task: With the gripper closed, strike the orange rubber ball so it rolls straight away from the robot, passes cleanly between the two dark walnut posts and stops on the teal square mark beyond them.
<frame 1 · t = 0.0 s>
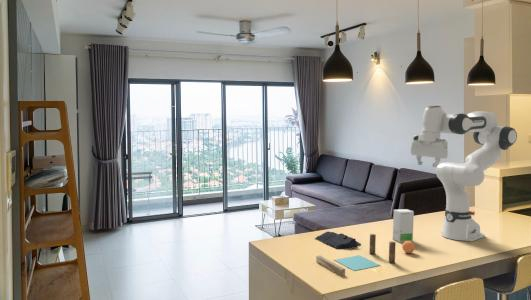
hand: (427, 166, 207), 39 cm above the counter, tool pointing down, fingers open, 8 cm apart
ball: (408, 246, 194), on the counter
post 1: (372, 253, 193), on the counter
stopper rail: (330, 268, 175), on the counter
post 2: (391, 262, 182), on the counter
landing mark: (356, 262, 181), on the counter
dark slate chunk: (337, 243, 211), on the counter
skincare box: (402, 240, 214), on the counter
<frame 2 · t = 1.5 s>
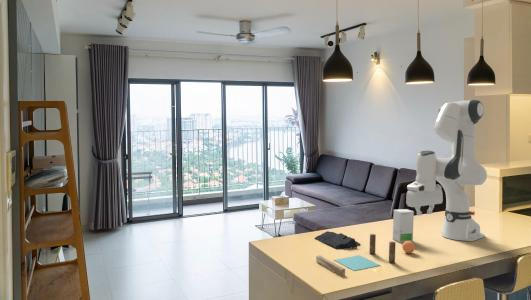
hand: (424, 214, 197), 17 cm above the counter, tool pointing down, fingers open, 5 cm apart
nothing on the counter moved.
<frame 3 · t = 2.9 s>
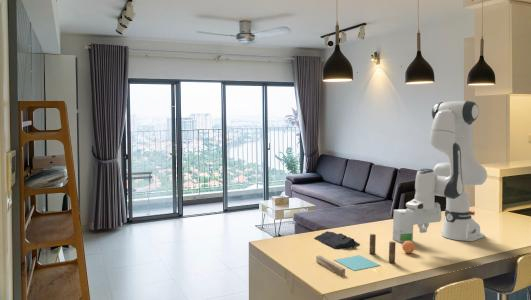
hand: (423, 232, 198), 9 cm above the counter, tool pointing down, fingers closed
nothing on the counter moved.
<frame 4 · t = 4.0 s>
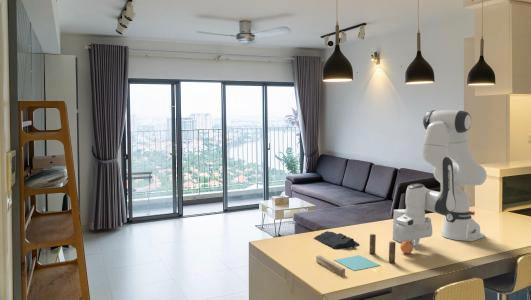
hand: (413, 247, 196), 2 cm above the counter, tool pointing down, fingers closed
ball: (406, 247, 194), on the counter
everything else where it was.
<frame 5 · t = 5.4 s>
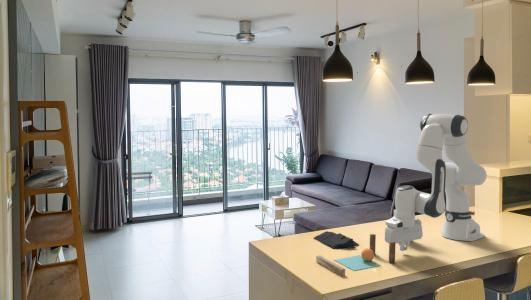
hand: (403, 250, 193), 2 cm above the counter, tool pointing down, fingers closed
ball: (367, 254, 183), on the counter
everything else where it was.
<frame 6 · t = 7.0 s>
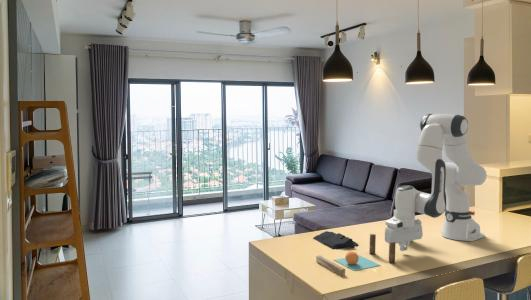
hand: (403, 250, 193), 2 cm above the counter, tool pointing down, fingers closed
ball: (352, 257, 179), on the counter
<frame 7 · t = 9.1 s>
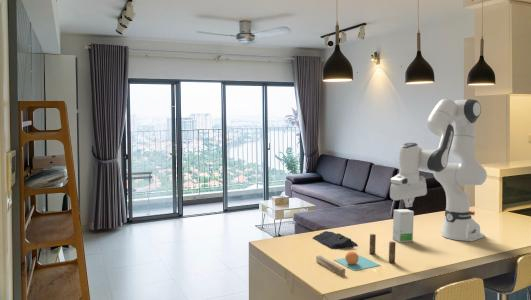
hand: (408, 206, 197), 21 cm above the counter, tool pointing down, fingers closed
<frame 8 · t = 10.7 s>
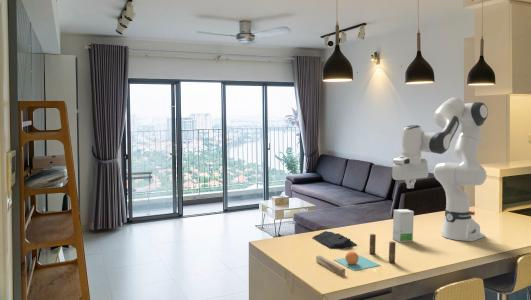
hand: (410, 188, 200), 29 cm above the counter, tool pointing down, fingers closed
at the end: ball 3.1 cm from the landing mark (horizontally); ball never touched post 2; ball never touched post 1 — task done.
